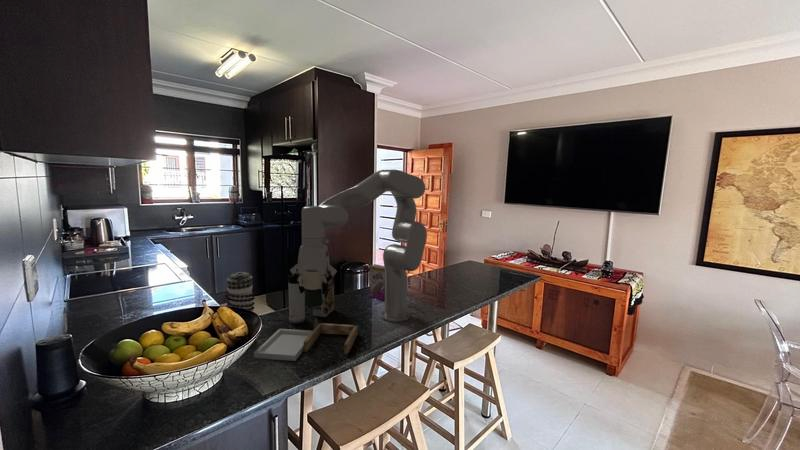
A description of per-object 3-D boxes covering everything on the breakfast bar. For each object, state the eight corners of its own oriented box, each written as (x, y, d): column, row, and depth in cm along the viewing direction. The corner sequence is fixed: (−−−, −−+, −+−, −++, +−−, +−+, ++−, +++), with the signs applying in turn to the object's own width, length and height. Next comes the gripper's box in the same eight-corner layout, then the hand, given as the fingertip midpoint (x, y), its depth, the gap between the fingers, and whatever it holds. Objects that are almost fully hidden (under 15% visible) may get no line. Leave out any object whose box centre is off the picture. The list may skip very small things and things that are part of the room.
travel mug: (290, 325, 131) (289, 276, 129) (288, 319, 137) (287, 272, 135) (306, 322, 134) (305, 275, 132) (303, 316, 140) (302, 271, 137)
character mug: (321, 299, 120) (321, 265, 119) (332, 304, 116) (332, 268, 114) (294, 306, 112) (293, 270, 111) (305, 312, 108) (305, 274, 106)
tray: (315, 335, 123) (315, 330, 122) (295, 360, 105) (295, 355, 105) (279, 333, 124) (279, 328, 124) (253, 357, 106) (253, 352, 106)
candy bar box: (368, 297, 165) (368, 265, 163) (374, 294, 169) (374, 263, 167) (386, 301, 159) (387, 269, 157) (392, 299, 164) (393, 267, 162)
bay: (357, 334, 124) (357, 325, 124) (347, 354, 109) (347, 344, 109) (319, 331, 126) (318, 323, 125) (303, 351, 111) (303, 341, 110)
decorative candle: (228, 338, 119) (225, 271, 116) (256, 333, 123) (253, 269, 120) (226, 349, 111) (223, 278, 108) (256, 344, 115) (254, 275, 112)
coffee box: (326, 317, 140) (326, 280, 138) (312, 315, 141) (311, 279, 139) (334, 309, 148) (334, 274, 147) (321, 308, 150) (321, 273, 148)
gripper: (341, 241, 114) (340, 290, 116) (293, 239, 116) (293, 288, 118) (335, 245, 107) (335, 297, 109) (283, 243, 108) (284, 294, 110)
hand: (313, 292), depth 113 cm, fingers closed on character mug, 7 cm apart
